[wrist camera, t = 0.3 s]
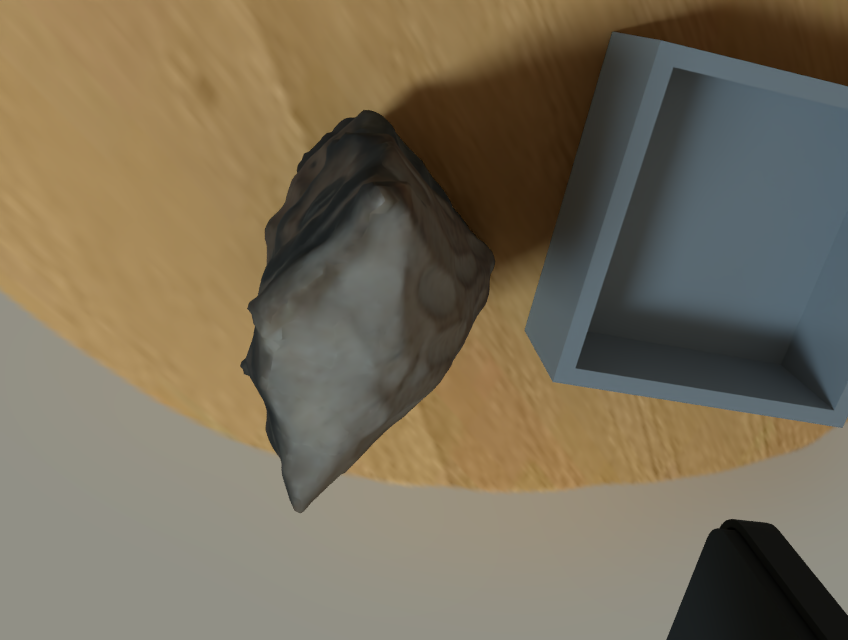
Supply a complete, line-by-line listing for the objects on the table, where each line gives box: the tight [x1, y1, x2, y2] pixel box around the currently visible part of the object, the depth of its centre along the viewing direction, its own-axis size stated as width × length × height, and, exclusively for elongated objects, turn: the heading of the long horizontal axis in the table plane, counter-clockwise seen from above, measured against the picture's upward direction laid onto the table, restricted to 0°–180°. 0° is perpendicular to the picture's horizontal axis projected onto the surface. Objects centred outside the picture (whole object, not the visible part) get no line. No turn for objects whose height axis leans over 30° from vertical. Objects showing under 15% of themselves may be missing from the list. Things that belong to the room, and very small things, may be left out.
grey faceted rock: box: [240, 110, 495, 513], centre depth 37 cm, size 13×13×20 cm
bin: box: [525, 32, 848, 428], centre depth 45 cm, size 18×18×7 cm
